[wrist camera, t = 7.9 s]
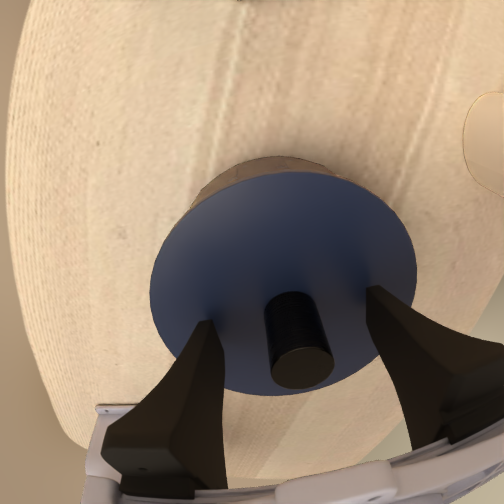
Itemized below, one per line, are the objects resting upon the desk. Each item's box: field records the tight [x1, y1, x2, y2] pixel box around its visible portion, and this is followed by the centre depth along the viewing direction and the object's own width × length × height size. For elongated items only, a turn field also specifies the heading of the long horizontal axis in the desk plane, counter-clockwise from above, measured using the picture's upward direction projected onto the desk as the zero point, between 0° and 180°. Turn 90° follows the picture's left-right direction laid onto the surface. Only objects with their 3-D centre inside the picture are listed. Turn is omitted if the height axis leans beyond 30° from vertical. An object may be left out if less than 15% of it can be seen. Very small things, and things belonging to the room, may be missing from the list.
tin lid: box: [149, 169, 417, 396], centre depth 13 cm, size 13×13×5 cm
